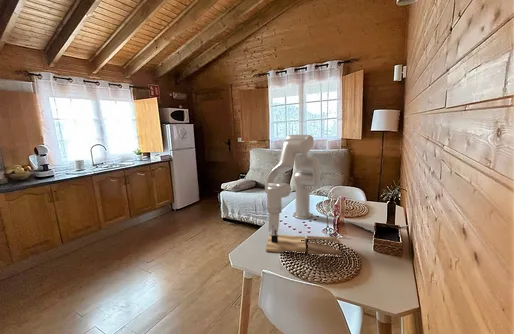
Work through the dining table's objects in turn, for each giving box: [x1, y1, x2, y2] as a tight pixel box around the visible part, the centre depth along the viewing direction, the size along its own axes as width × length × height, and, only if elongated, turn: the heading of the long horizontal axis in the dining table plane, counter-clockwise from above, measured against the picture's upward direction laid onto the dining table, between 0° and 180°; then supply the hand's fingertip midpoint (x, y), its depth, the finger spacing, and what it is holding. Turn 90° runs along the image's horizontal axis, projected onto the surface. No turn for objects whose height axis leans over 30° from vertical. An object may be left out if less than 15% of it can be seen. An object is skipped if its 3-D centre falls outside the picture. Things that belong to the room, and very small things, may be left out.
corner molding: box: [343, 218, 409, 233], centre depth 156 cm, size 30×2×30 cm
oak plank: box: [265, 233, 307, 253], centre depth 128 cm, size 16×20×2 cm
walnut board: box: [306, 235, 342, 255], centre depth 124 cm, size 18×16×2 cm
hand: (274, 241), depth 128 cm, fingers closed
